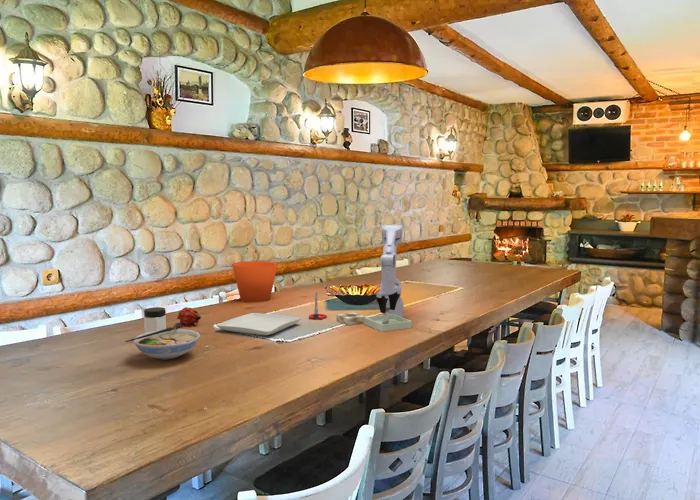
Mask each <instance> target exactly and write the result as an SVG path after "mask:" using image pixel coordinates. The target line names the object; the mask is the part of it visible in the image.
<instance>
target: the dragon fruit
mask: <svg viewBox="0 0 700 500" xmlns="http://www.w3.org/2000/svg"><path fill="white" fill-rule="evenodd" d="M201 318H202V317H201V316H200V313H199V312H198V311H197V310H195V309H194V308H192V307H187V306H186V307H183V308H182V309H181V310H179V311H178V313H177V317H176V319H177V320H179V322H180V325H181V326H182V325H186V326H188V327H193V326H194V325H195V324H198V323H199V322H200V320H201Z"/></svg>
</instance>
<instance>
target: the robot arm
mask: <svg viewBox="0 0 700 500" xmlns="http://www.w3.org/2000/svg"><path fill="white" fill-rule="evenodd" d="M403 228H404V227H403V225H402V224H382V225H381V239H382V243H384V245H383V248H382V249H383V250H382V255H380V268H381V269H380V271H381V281H380V288H379V289H380V290H379V292H376V296H375V300H376V302H377V304H378V307H379V311H380V312H379V313H380V314H379V316H380V315H382V313H385V312H386V307H389V308H390V310H389V314H394V315H397V316H400V317H403V318H405V315H404V311H405V310H404V309H405V308H404V306H405V304H404V300H403V298H402V282H401V281H400V279H398V278H397V275H396V274H397V250H398V245H399V244H401V243H402V241H403V232H404V231H403Z"/></svg>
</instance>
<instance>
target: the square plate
mask: <svg viewBox="0 0 700 500" xmlns="http://www.w3.org/2000/svg"><path fill="white" fill-rule="evenodd" d="M300 320H302V317H297V316H296V317H295V316H289V315H281V314H272V313H262V312H258V313H257V312H250V313H247V314H244V315H240V316H237V317H233V318H231V319H228V320H226V321H222V322H221V323H218V324H215V325H216V327H217V328H219V329H220V330H223V331H227V332H232V333H239V332H240V334H246V333H249V335H254V334H256V336H270V334H271V335H273V333H274V334H276V333H278V332H280V331H282V330H285V329H287V328H289V327H292V326H294V325H296V324H297V323H299V322H300Z"/></svg>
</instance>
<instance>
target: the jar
mask: <svg viewBox="0 0 700 500" xmlns="http://www.w3.org/2000/svg"><path fill="white" fill-rule="evenodd" d="M166 311H167V310H166V308H165V307H161V306H156V307H154V306H153V307H148V308H145V309H144V310H143V317H144V318H143V321H144V322H143V325H144V333H147V332H153V331H158V330H164V329H167V315H166Z"/></svg>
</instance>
